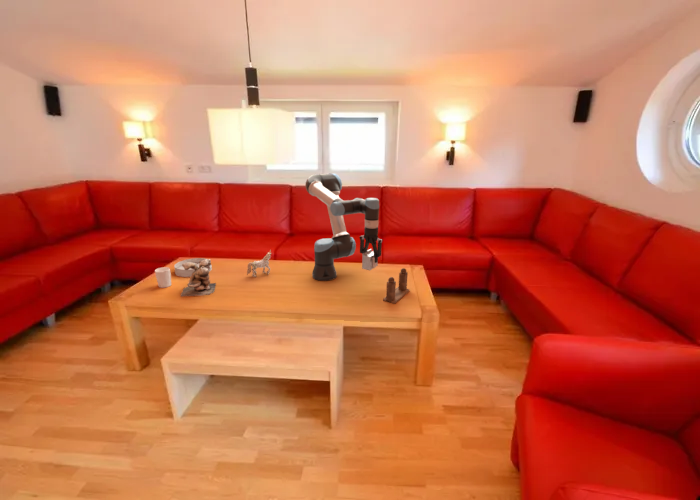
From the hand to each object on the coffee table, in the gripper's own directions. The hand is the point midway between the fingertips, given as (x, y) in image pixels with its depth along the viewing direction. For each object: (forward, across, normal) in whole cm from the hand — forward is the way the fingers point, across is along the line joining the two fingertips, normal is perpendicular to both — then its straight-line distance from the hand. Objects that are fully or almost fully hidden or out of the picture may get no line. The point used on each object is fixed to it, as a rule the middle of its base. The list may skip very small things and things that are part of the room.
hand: (369, 266), depth 203 cm
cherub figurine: (+15, -81, -54) cm, 98 cm away
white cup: (+15, -102, -61) cm, 120 cm away
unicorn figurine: (+15, -69, -17) cm, 73 cm away
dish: (+16, -109, -37) cm, 117 cm away
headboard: (+13, +18, 0) cm, 22 cm away
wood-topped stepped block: (0, 0, 0) cm, 0 cm away
